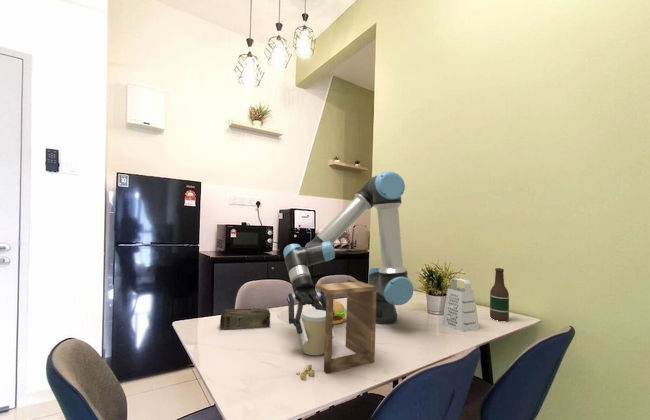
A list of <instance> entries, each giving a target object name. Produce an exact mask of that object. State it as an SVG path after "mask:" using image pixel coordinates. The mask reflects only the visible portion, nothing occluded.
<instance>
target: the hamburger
mask: <svg viewBox="0 0 650 420" xmlns="http://www.w3.org/2000/svg"><path fill="white" fill-rule="evenodd" d="M333 312H334V313H335V315H334V316H333V325H338V324H342V323H343V321H345V318H346V317H345V316H346V315H345V314H347V309H346V308H345V307H344V305H343V303H342V302H340V301H338V300H333Z"/></svg>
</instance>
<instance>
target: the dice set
mask: <svg viewBox="0 0 650 420" xmlns="http://www.w3.org/2000/svg"><path fill="white" fill-rule="evenodd" d="M312 366H313V365H312V364H307V365H306V367H304V368H303V372H301V371H296V373H295V375H298V376H300V381H305V380H306V379H307V375H308V378H309V377H310V378H314V377H315V370H313V367H312Z"/></svg>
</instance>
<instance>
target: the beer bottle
mask: <svg viewBox="0 0 650 420" xmlns="http://www.w3.org/2000/svg"><path fill="white" fill-rule="evenodd" d="M494 271H495V274H494V275H495V277H494V283H493V284H494V285H493V286H492V287H491V289H490V292H489V293H490V294H489V317H491V318H492V319H491V318H490V319H491V320H493V319H494V320H493V321H496V320H498V321H497V322H501V321H507V322H509V319H510V295H509V290H508V288H507V287H506V286H505V278H504V277H505V276H504V275H505V274H504V271H505V270H504V268H501V267H500V268H499V267H496V268H495V269H494Z"/></svg>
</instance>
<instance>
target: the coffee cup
mask: <svg viewBox="0 0 650 420" xmlns="http://www.w3.org/2000/svg"><path fill="white" fill-rule="evenodd" d="M301 321H303V324H304V328H305V331H306V335H307V339H308V341H307V343H306V344H305V345H303V343H302V342H301V343H302V344H301V346H302V352H303V353H304V354H307V355H308V356H321V355H323V354H324V352H325V323H326V311H323V310H316V309H307V310H304V311H302V313H301Z"/></svg>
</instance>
